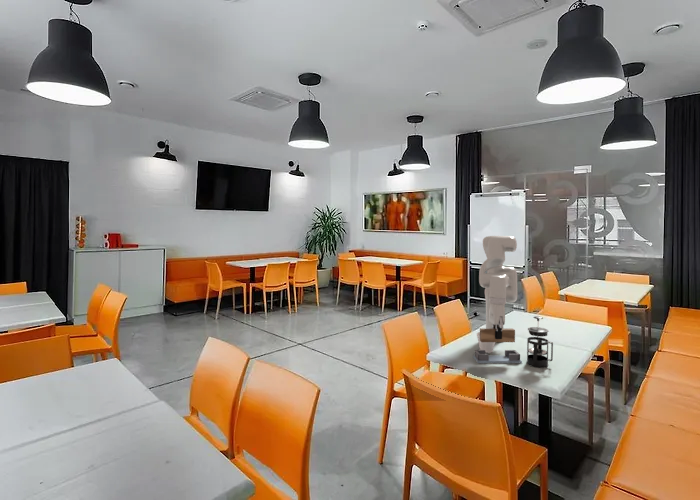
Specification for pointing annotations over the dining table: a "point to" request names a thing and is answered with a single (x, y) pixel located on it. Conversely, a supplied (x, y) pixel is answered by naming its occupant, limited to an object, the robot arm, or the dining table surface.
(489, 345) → the cup
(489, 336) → the slat
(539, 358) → the french press
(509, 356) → the cradle
